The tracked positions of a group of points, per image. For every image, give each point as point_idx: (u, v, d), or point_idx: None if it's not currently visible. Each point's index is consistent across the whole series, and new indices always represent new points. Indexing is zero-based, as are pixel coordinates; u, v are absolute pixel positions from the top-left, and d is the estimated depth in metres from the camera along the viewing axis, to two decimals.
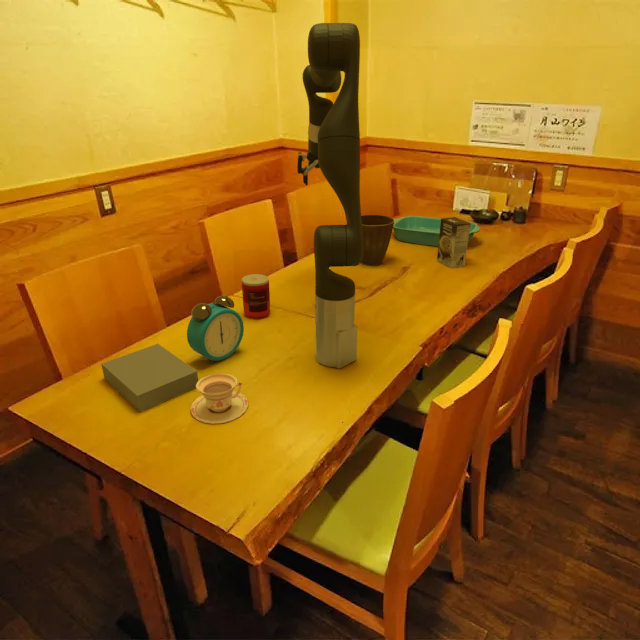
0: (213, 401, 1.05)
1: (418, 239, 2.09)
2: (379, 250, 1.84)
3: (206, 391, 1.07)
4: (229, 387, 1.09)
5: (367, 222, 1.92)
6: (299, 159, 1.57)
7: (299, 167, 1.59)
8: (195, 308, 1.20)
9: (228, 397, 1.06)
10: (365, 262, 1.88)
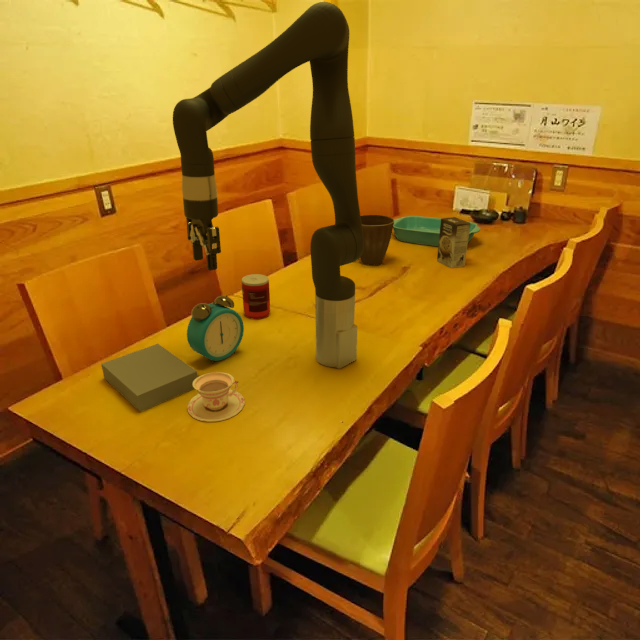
0: (209, 399, 1.06)
1: (418, 239, 2.09)
2: (379, 250, 1.84)
3: (202, 389, 1.08)
4: (225, 385, 1.09)
5: (367, 222, 1.92)
6: None
7: None
8: (195, 308, 1.20)
9: (224, 395, 1.07)
10: (365, 262, 1.88)
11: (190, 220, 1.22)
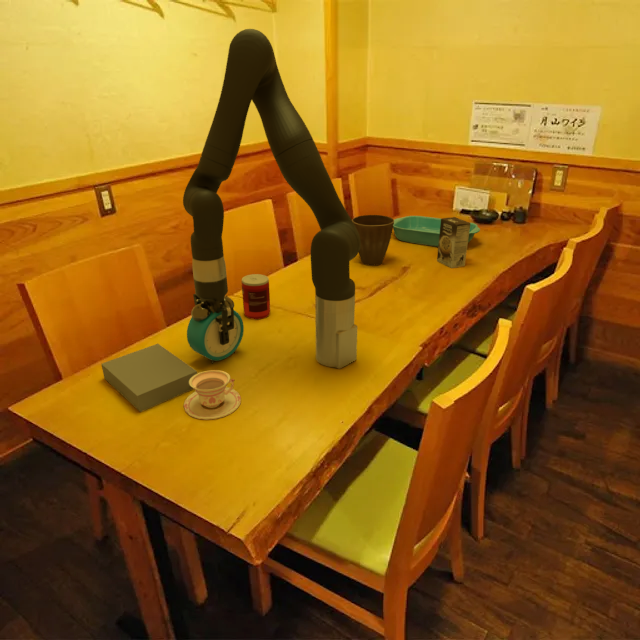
0: (206, 397, 1.06)
1: (417, 239, 2.10)
2: (379, 250, 1.84)
3: (199, 387, 1.09)
4: (222, 383, 1.10)
5: (367, 222, 1.92)
6: None
7: None
8: (195, 308, 1.20)
9: (220, 393, 1.07)
10: (365, 262, 1.88)
11: (198, 297, 1.26)
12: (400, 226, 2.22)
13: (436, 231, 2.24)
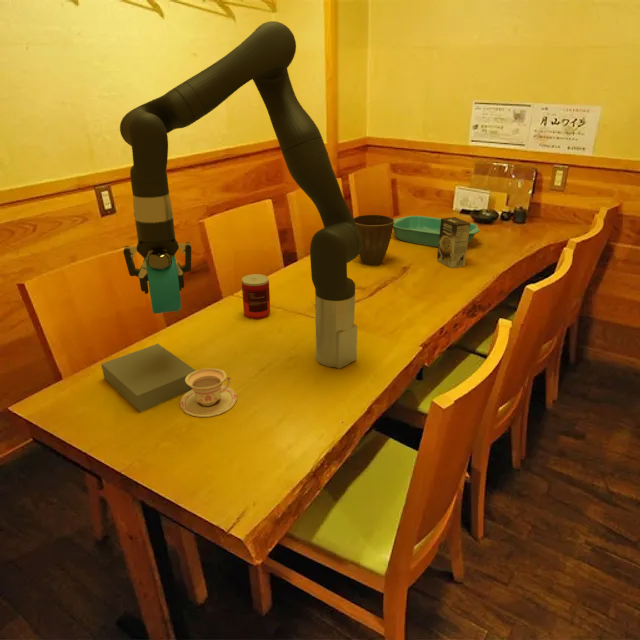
0: (202, 395, 1.07)
1: (415, 239, 2.10)
2: (379, 250, 1.84)
3: (195, 385, 1.09)
4: (218, 381, 1.11)
5: (367, 222, 1.92)
6: None
7: None
8: (157, 256, 1.05)
9: (216, 391, 1.08)
10: (365, 262, 1.88)
11: (130, 252, 1.07)
12: (401, 226, 2.23)
13: (437, 231, 2.23)
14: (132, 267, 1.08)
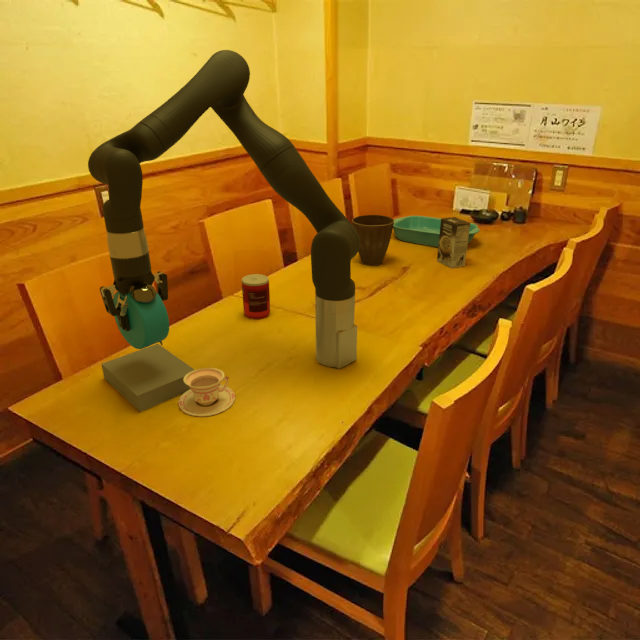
0: (200, 394, 1.07)
1: (415, 239, 2.10)
2: (379, 250, 1.84)
3: (194, 385, 1.10)
4: (216, 381, 1.11)
5: (367, 222, 1.92)
6: None
7: None
8: (144, 289, 1.04)
9: (215, 391, 1.08)
10: (365, 262, 1.88)
11: (109, 292, 1.04)
12: (401, 226, 2.23)
13: (437, 231, 2.23)
14: (114, 307, 1.05)
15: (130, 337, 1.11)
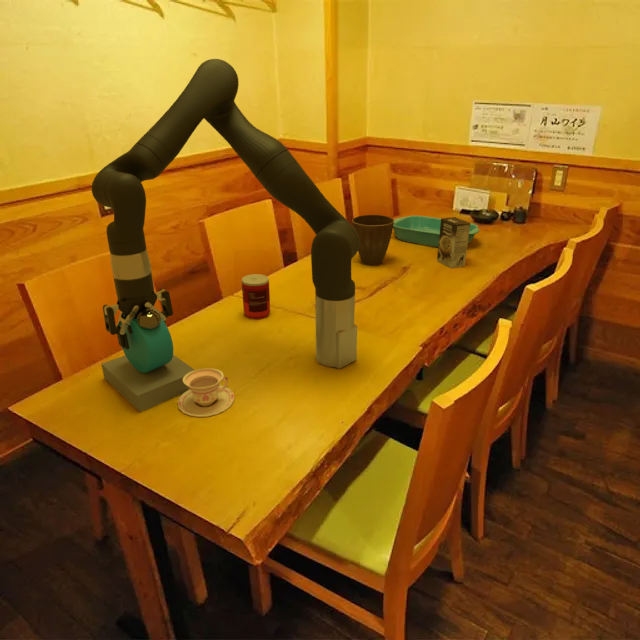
0: (199, 395, 1.07)
1: (415, 238, 2.10)
2: (379, 250, 1.84)
3: (193, 385, 1.09)
4: (216, 381, 1.11)
5: (367, 222, 1.92)
6: None
7: None
8: (149, 316, 1.07)
9: (214, 391, 1.08)
10: (365, 262, 1.88)
11: None
12: (401, 225, 2.23)
13: (438, 231, 2.23)
14: (114, 325, 1.06)
15: (135, 361, 1.13)
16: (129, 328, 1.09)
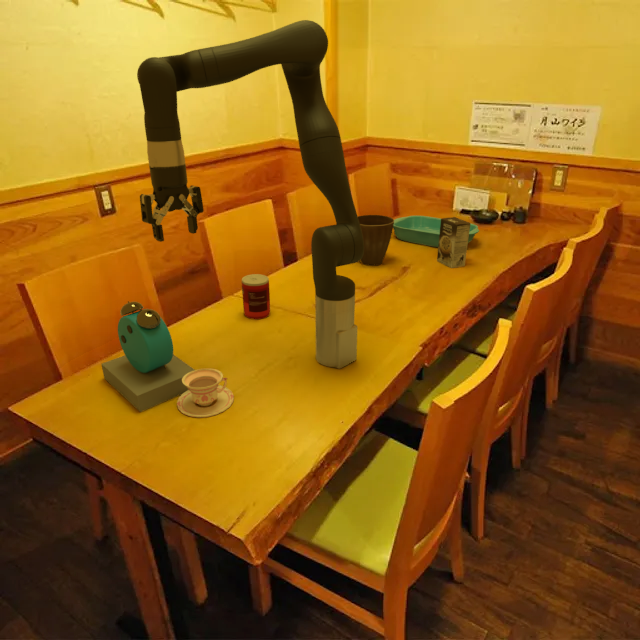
0: (198, 395, 1.07)
1: (414, 238, 2.10)
2: (379, 250, 1.84)
3: (192, 385, 1.09)
4: (215, 382, 1.10)
5: (367, 222, 1.92)
6: None
7: None
8: (149, 316, 1.07)
9: (213, 391, 1.08)
10: (365, 262, 1.88)
11: None
12: (402, 225, 2.23)
13: (438, 231, 2.23)
14: (151, 214, 1.10)
15: (135, 361, 1.13)
16: (129, 328, 1.09)
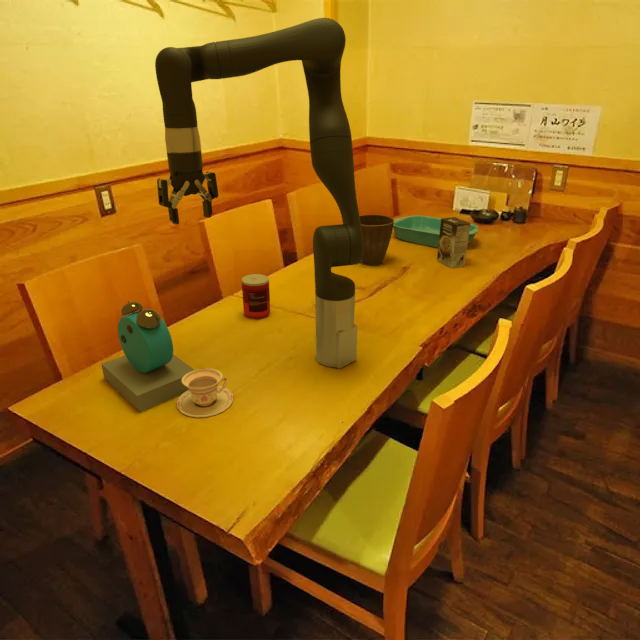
0: (198, 395, 1.07)
1: (414, 238, 2.10)
2: (379, 250, 1.84)
3: (192, 385, 1.09)
4: (215, 382, 1.10)
5: (367, 222, 1.92)
6: None
7: None
8: (149, 316, 1.07)
9: (213, 392, 1.08)
10: (365, 262, 1.88)
11: None
12: (402, 225, 2.24)
13: (439, 231, 2.23)
14: (167, 198, 1.15)
15: (135, 361, 1.13)
16: (129, 328, 1.09)
